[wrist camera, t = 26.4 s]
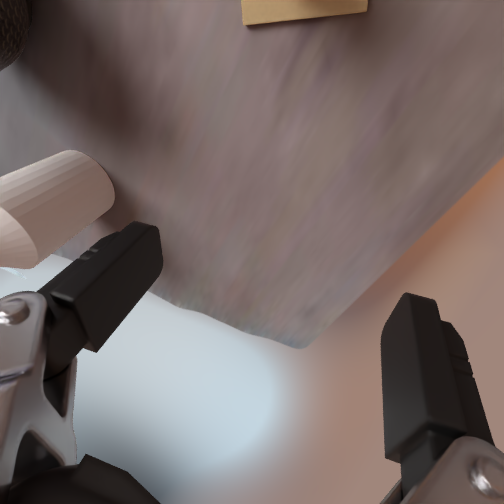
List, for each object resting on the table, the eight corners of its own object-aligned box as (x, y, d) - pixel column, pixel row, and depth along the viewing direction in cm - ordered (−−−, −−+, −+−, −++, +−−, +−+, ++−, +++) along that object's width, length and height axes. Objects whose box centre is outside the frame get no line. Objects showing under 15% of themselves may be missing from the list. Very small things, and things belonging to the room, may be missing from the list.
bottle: (62, 200, 56) (-94, 293, 37) (47, 138, 48) (-161, 215, 29) (119, 221, 54) (-12, 328, 36) (112, 161, 47) (-59, 257, 28)
